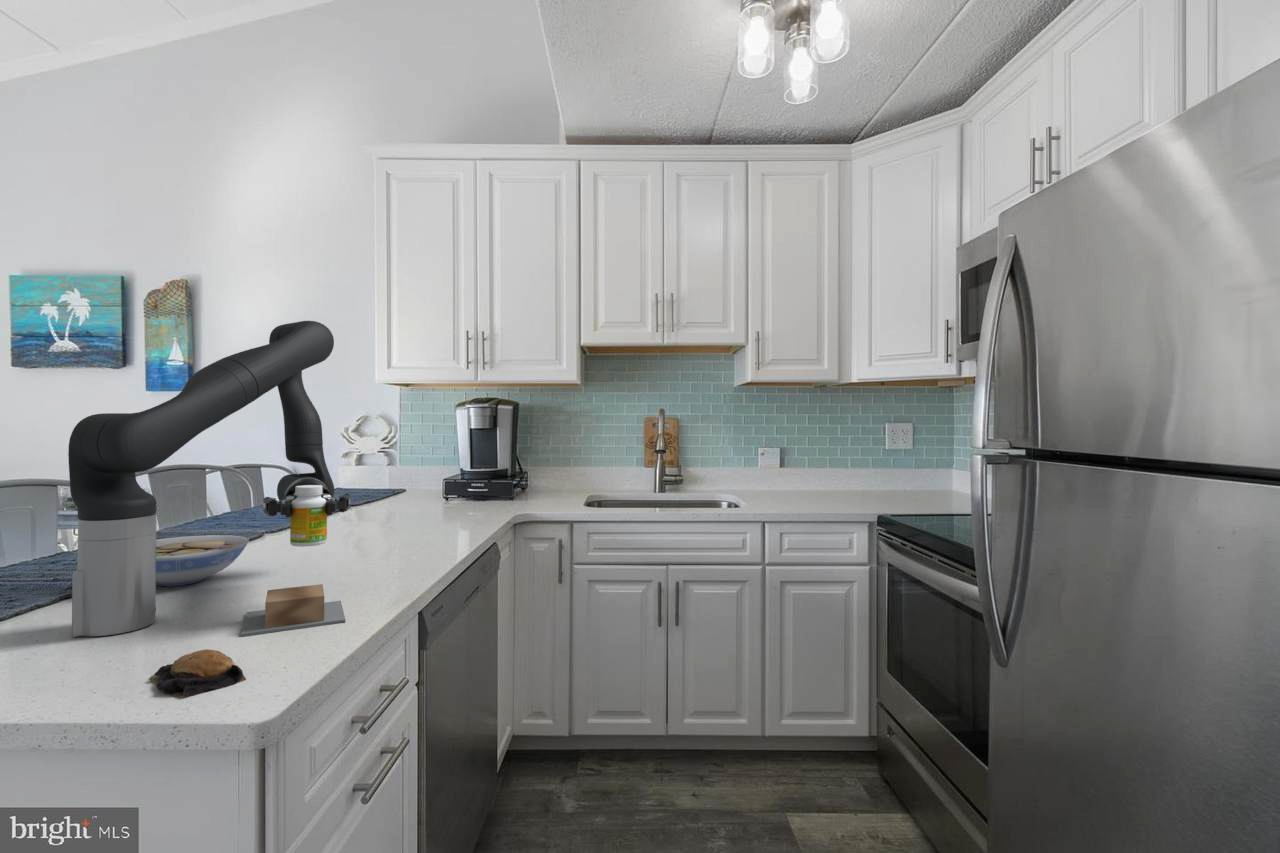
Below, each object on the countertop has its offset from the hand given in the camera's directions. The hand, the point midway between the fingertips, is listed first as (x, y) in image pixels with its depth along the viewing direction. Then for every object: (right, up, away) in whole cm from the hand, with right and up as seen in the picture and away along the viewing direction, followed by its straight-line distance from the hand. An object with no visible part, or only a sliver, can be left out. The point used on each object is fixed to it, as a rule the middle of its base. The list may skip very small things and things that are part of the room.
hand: (309, 509), depth 98 cm
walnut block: (-2, -17, -1) cm, 18 cm away
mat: (-2, -18, 0) cm, 18 cm away
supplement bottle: (-1, -6, +2) cm, 7 cm away
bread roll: (-1, -18, -24) cm, 30 cm away
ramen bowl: (-38, -18, +22) cm, 47 cm away
